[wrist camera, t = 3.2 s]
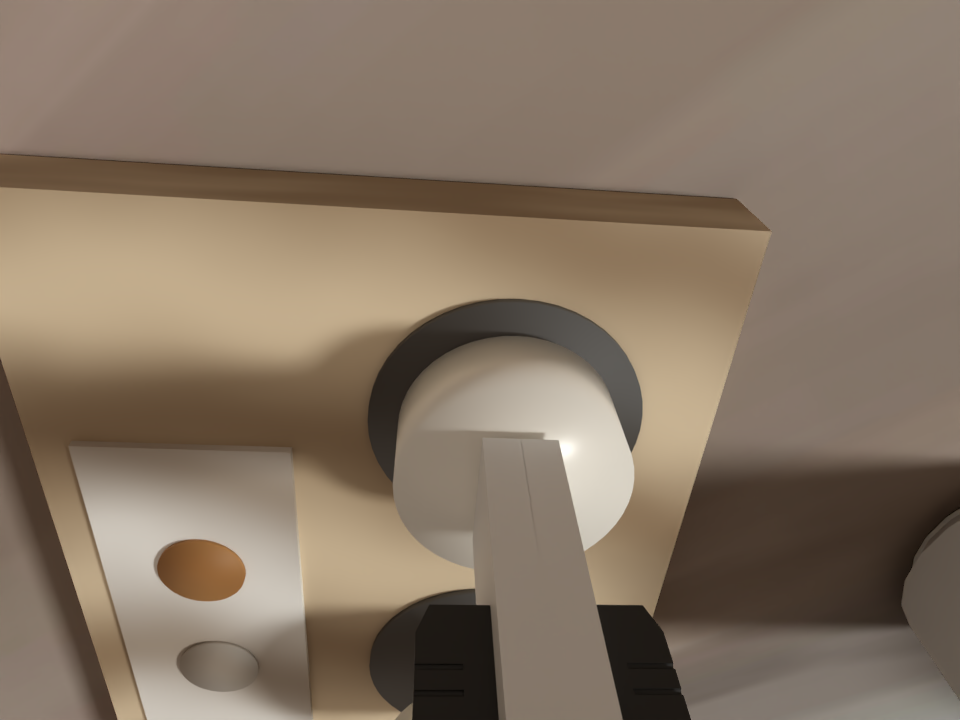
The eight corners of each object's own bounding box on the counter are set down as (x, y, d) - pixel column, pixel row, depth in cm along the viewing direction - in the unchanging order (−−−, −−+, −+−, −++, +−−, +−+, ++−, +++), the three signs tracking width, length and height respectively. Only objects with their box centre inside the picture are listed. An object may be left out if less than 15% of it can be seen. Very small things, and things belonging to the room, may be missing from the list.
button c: (595, 512, 18) (611, 574, 16) (396, 507, 17) (391, 570, 16) (633, 340, 15) (657, 393, 14) (399, 330, 15) (394, 383, 13)
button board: (565, 823, 31) (573, 884, 29) (186, 827, 29) (168, 892, 27) (737, 199, 16) (777, 237, 14) (0, 153, 15) (-67, 189, 13)
